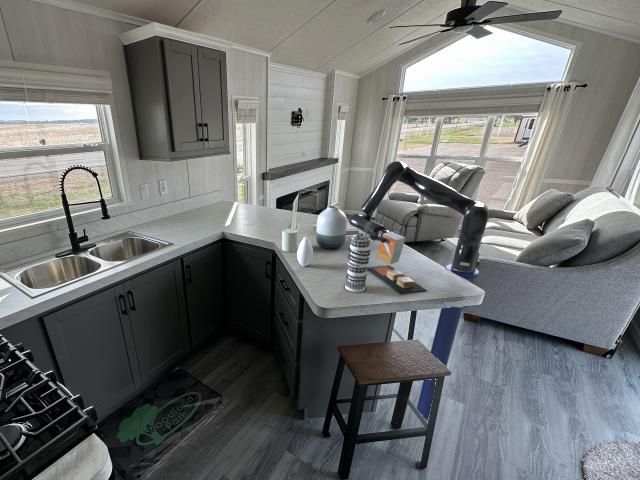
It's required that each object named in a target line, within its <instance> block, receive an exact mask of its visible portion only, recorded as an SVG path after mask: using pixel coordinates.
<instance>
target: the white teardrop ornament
mask: <svg viewBox="0 0 640 480" xmlns="http://www.w3.org/2000/svg"><path fill="white" fill-rule="evenodd" d="M313 249H314V248H313V245H312V243H311V241H310V240H309V237H307V235H305V236H304V237H303V238H302V240H301V241H300V243H299V245H298V246H297V251H296V256H297V261H298V264H299V265H301V266H302V267H307V266H309V265H310V264H311V263H312V261H313V259H314V250H313Z"/></svg>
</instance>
